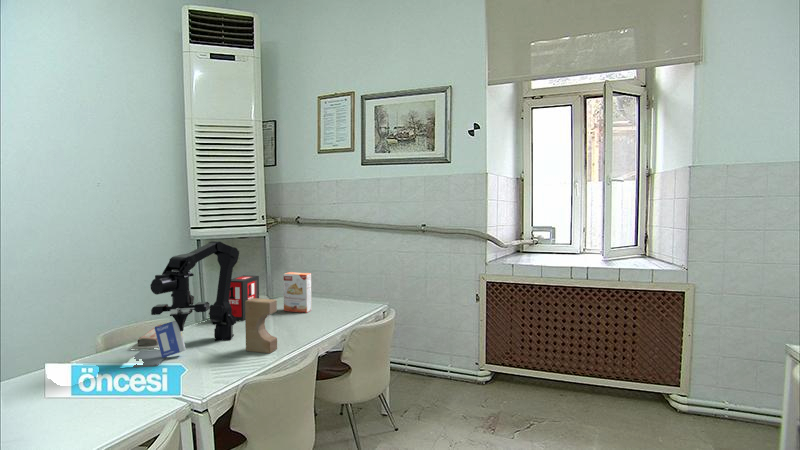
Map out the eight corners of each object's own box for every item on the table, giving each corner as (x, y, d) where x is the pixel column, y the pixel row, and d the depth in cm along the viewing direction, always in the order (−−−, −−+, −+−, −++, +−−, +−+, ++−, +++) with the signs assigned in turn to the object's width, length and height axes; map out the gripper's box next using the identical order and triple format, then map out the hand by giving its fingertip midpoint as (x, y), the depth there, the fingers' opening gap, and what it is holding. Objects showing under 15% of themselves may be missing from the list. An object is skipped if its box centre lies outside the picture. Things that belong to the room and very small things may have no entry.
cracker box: (283, 311, 218) (282, 273, 217) (289, 308, 224) (288, 271, 223) (306, 313, 214) (306, 274, 213) (311, 310, 220) (311, 272, 219)
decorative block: (277, 349, 159) (277, 299, 159) (269, 354, 154) (268, 302, 153) (254, 346, 163) (253, 297, 162) (245, 351, 157) (244, 300, 156)
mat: (173, 350, 158) (173, 348, 158) (157, 366, 142) (157, 364, 142) (140, 352, 156) (140, 350, 156) (119, 368, 140) (119, 366, 140)
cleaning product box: (243, 321, 199) (242, 281, 199) (226, 320, 201) (226, 280, 200) (259, 312, 216) (258, 275, 215) (243, 311, 217) (243, 275, 216)
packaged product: (149, 326, 175) (173, 325, 177) (149, 337, 175) (174, 336, 177) (129, 339, 157) (157, 338, 159) (130, 351, 157) (157, 350, 159)
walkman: (162, 358, 147) (154, 326, 147) (162, 356, 150) (154, 325, 149) (185, 350, 151) (178, 319, 150) (185, 348, 153) (178, 318, 153)
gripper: (212, 285, 160) (213, 323, 160) (161, 287, 156) (162, 327, 157) (205, 289, 149) (206, 331, 149) (149, 292, 145) (151, 335, 146)
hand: (181, 330), depth 151 cm, fingers closed
